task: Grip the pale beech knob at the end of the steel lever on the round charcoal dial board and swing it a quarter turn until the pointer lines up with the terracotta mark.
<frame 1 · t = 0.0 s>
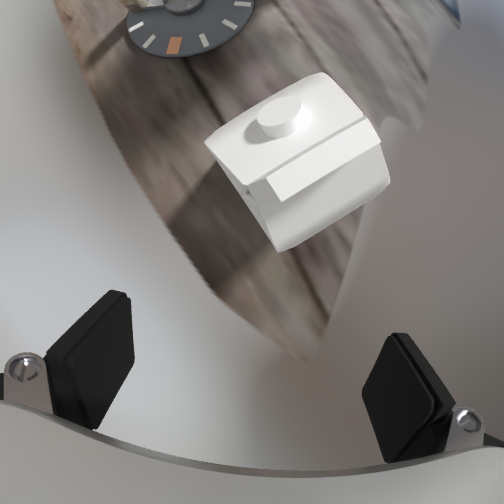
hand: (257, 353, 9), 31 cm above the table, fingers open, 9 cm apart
dial board: (188, 6, 30), on the table
milk: (283, 162, 37), on the table
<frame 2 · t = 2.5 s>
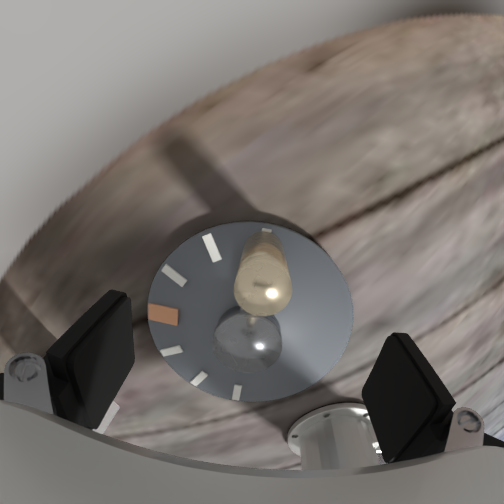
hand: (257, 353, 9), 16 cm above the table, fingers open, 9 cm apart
dial board: (249, 323, 27), on the table
lever: (252, 325, 21), point 6 cm above the table, hinge at -90.0°
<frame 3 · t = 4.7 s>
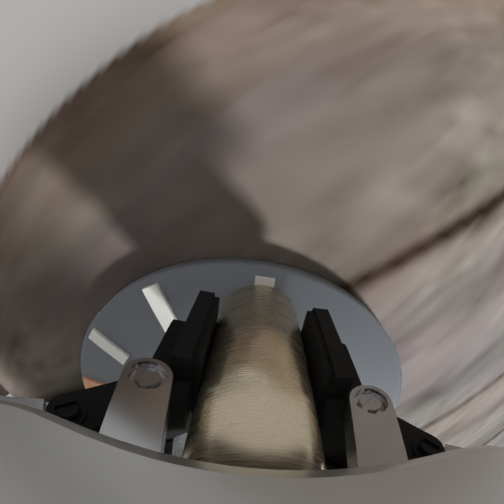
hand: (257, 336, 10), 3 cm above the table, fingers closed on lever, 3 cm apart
dial board: (236, 410, 16), on the table
lever: (236, 460, 9), point 6 cm above the table, hinge at -90.0°, touching gripper
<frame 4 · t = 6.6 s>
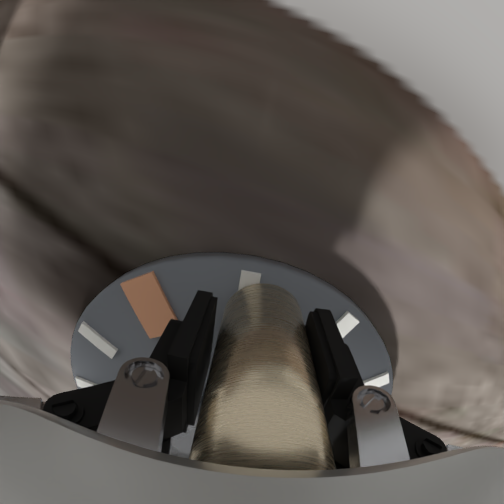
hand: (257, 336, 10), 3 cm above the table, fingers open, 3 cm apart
dial board: (225, 407, 16), on the table
lever: (228, 458, 9), point 6 cm above the table, hinge at -35.5°, touching gripper
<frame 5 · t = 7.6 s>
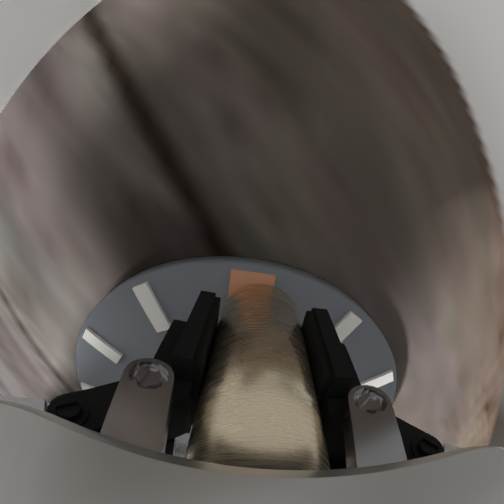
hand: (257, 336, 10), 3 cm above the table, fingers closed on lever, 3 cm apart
dial board: (231, 409, 16), on the table
milk: (22, 23, 8), on the table
lever: (232, 459, 9), point 6 cm above the table, hinge at -3.8°, touching gripper
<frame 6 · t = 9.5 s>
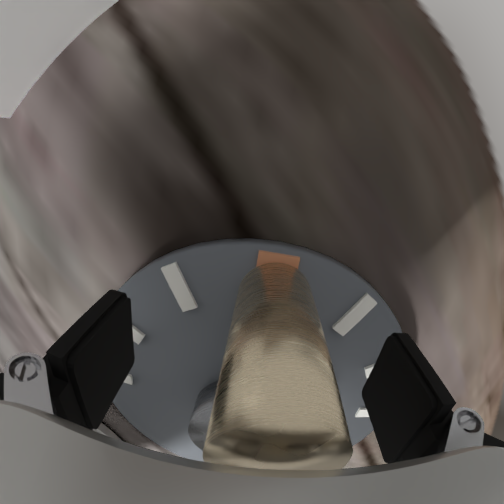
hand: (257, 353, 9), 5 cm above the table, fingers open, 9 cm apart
dial board: (247, 390, 17), on the table
milk: (45, 11, 9), on the table
lever: (251, 434, 10), point 6 cm above the table, hinge at -0.8°
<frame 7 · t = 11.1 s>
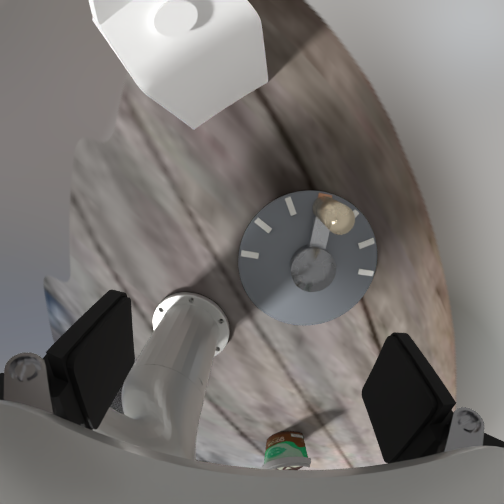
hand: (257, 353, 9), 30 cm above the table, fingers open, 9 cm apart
dial board: (309, 260, 40), on the table
milk: (208, 74, 33), on the table
food container: (277, 437, 53), on the table
lever: (322, 251, 33), point 6 cm above the table, hinge at -0.8°
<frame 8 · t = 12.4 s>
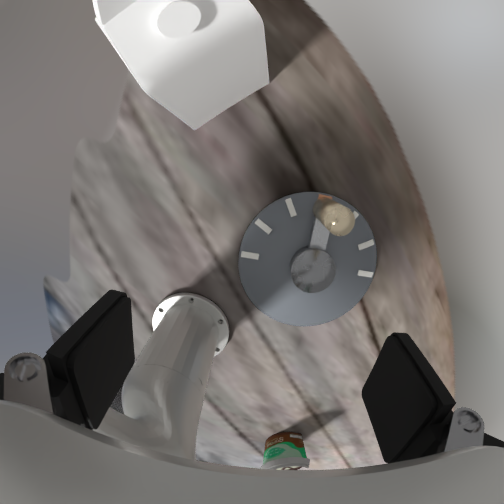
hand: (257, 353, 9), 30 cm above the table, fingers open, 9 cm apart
dial board: (309, 261, 40), on the table
milk: (209, 75, 33), on the table
food container: (276, 438, 53), on the table
lever: (322, 252, 34), point 6 cm above the table, hinge at -0.8°
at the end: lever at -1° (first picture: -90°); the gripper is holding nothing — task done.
